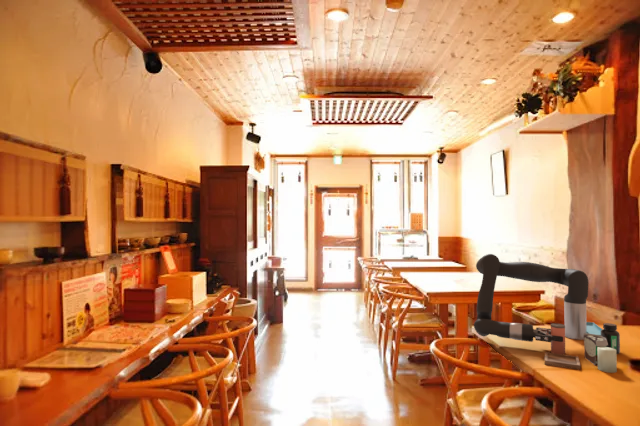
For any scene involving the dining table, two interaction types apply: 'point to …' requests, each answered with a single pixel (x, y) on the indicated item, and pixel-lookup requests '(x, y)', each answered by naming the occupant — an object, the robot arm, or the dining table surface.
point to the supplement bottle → (611, 336)
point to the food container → (593, 346)
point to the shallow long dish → (593, 328)
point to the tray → (562, 360)
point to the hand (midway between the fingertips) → (562, 336)
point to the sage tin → (607, 359)
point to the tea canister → (555, 345)
